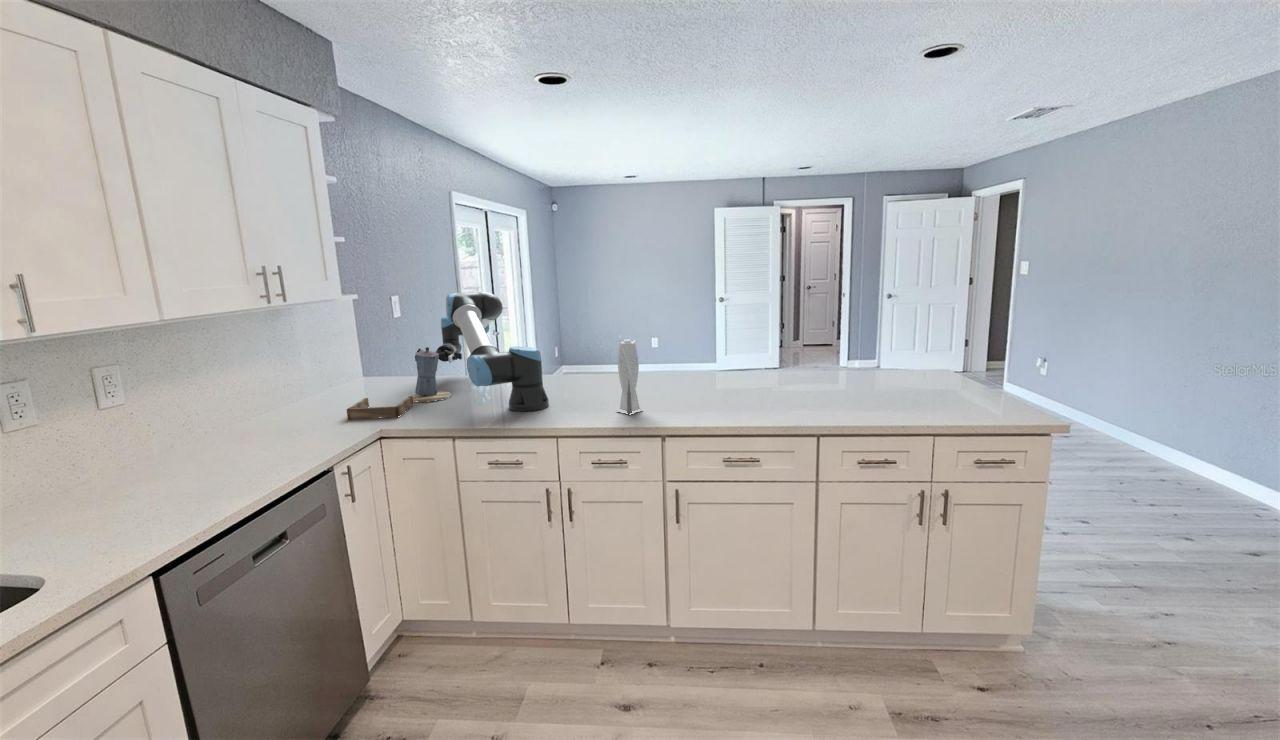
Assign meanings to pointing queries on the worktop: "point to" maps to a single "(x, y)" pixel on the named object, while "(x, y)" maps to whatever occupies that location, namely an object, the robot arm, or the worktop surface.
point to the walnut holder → (377, 409)
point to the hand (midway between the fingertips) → (433, 360)
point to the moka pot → (426, 372)
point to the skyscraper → (628, 375)
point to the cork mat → (432, 397)
